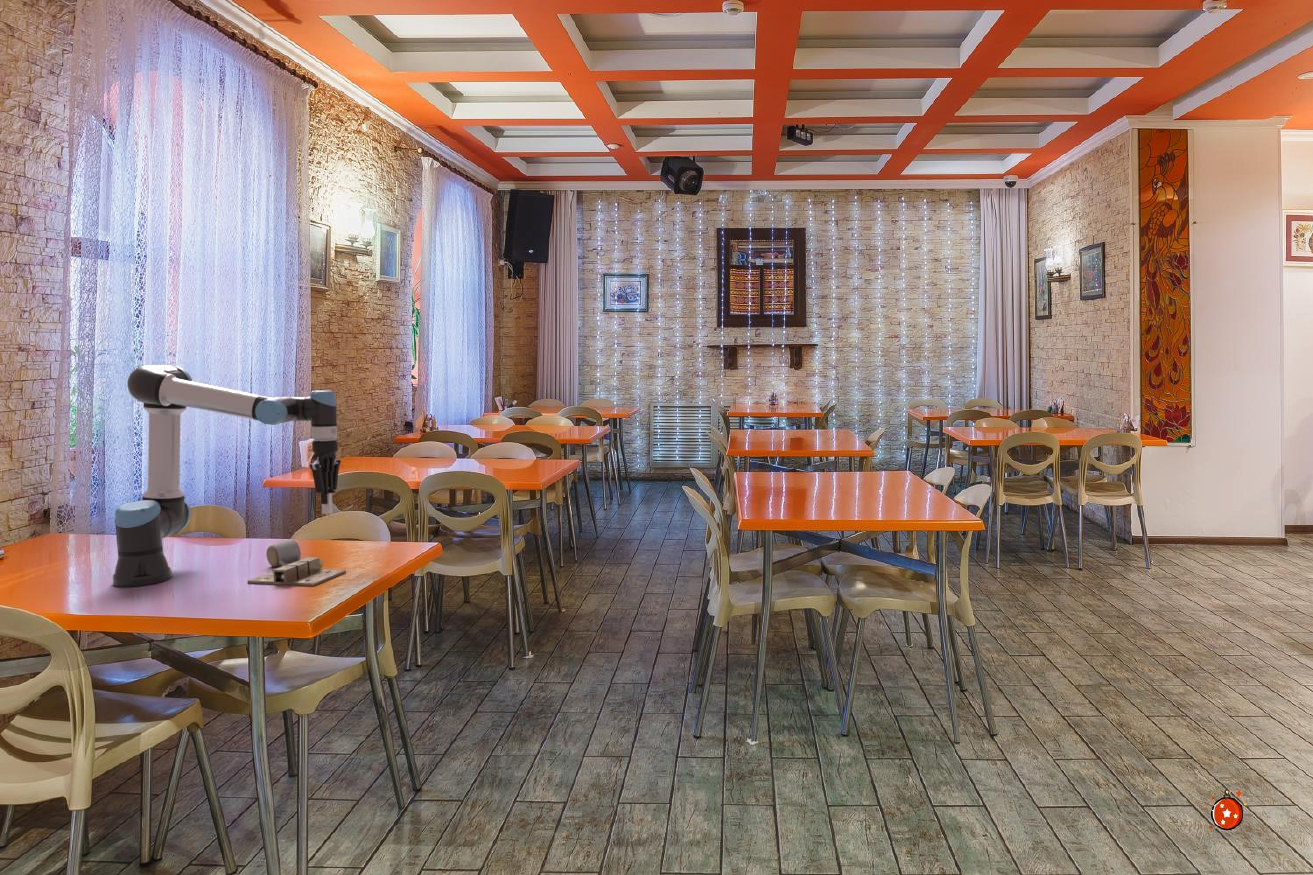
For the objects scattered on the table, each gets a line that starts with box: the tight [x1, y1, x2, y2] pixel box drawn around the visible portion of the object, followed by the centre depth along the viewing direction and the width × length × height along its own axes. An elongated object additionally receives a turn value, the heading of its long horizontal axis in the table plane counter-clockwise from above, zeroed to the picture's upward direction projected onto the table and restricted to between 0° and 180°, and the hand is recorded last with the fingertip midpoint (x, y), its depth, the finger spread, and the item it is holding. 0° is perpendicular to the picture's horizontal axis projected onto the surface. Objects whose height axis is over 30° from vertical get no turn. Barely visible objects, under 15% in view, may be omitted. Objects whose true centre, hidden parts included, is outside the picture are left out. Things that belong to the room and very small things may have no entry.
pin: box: [279, 557, 324, 581], centre depth 257 cm, size 17×3×3 cm, turn 167°
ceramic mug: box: [266, 539, 302, 568], centre depth 272 cm, size 11×8×8 cm
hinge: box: [247, 556, 347, 587], centre depth 255 cm, size 16×22×4 cm
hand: (327, 513), depth 270 cm, fingers closed
